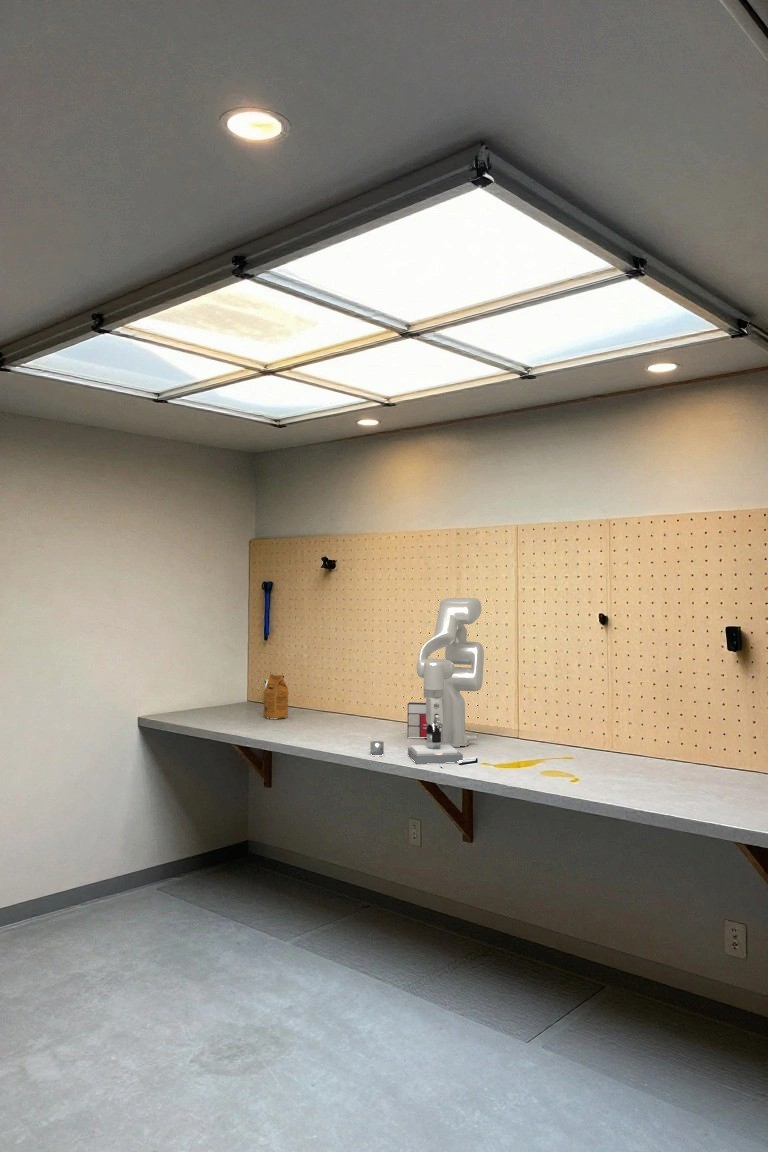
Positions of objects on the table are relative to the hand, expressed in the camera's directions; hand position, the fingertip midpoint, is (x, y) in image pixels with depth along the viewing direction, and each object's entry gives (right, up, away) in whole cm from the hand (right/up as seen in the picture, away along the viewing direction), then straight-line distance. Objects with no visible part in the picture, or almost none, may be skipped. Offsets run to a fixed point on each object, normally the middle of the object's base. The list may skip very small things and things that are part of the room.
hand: (433, 740), depth 307 cm
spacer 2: (0, -3, 0) cm, 3 cm away
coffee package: (-73, -10, +106) cm, 129 cm away
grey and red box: (-3, -8, +45) cm, 46 cm away
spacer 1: (-21, -7, +6) cm, 23 cm away
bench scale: (0, -7, -2) cm, 7 cm away
